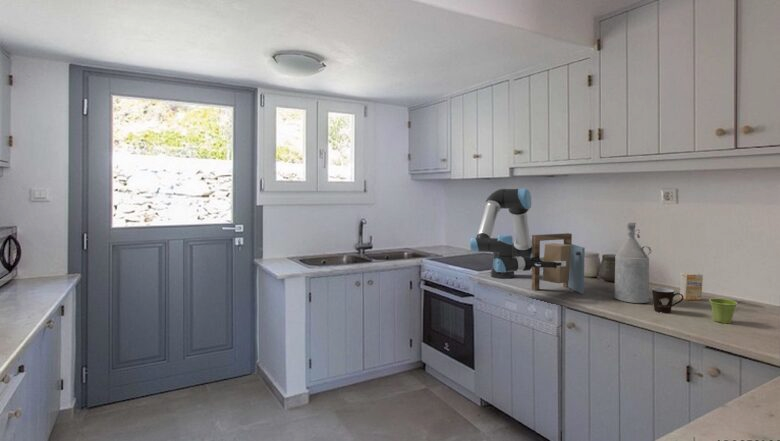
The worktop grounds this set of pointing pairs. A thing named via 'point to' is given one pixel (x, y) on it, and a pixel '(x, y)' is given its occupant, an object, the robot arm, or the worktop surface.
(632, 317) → the worktop surface
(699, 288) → the supplement box
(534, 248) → the door frame
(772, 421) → the worktop surface
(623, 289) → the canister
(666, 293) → the coffee mug
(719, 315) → the plant pot
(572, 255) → the door
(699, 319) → the worktop surface
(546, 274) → the wooden block
